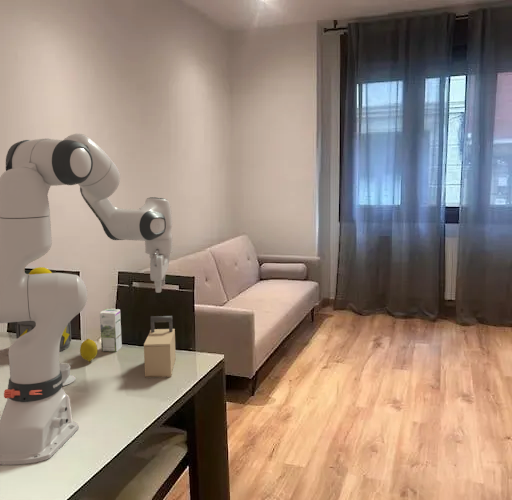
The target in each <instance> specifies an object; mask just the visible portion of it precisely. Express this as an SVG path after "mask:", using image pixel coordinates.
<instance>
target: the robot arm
mask: <svg viewBox="0 0 512 500" xmlns="http://www.w3.org/2000/svg"><path fill="white" fill-rule="evenodd" d="M120 183H121V173H120V170H119V168H118V166H117V164H116V163H115V162H114V161H113V160H112V158H111V157H110V156H109V155H108V153H107V152H106V151H105V150H104V149H103V148H102V147H101V146H100V145H98V143H97V142H95V141H94V140H93V139H92V138H90V137H89V136H87V135H86V134H82V133H73V134H70V135H68V136H67V137H64V139H54V138H52V139H51V138H37V139H23V140H21V141H18V142H16V143H14V144H12V145H11V146H10V147H9V149H8V150H7V153H6V156H5V171H4V172H2V174H1V176H0V324H6V323H7V324H9V323H16V322H21V321H35V322H36V326H35V327H34V329H32V330H31V331H30V332H28V333H26V334H24V335H22V336H21V337H19V338H18V339H17V338H16V339H15V340H14V341H13V342H12V343H11V344H10V346H9V349H8V353H7V354H8V365H9V366H8V367H9V378H8V384H7V388H5V389H4V391H3V398H4V399H6V402H5V405H4V407H3V411H2V414H1V417H0V465H2V466H3V465H7V466H8V465H27V464H33V463H38V462H43V461H46V460H49V459H50V458H51V457H53V456H54V454H55V453H56V452H58V450H59V449H60V448H61V447H62V446H64V444H65V443H66V442H67V441H68V440H69V439H70V438H71V437H72V436H73V435H74V434H75V433H76V432H77V431H78V430H79V428H80V427H79V423H78V422H75V421H73V416H72V408H71V400H70V396H69V395H68V394H67V393H66V392H65V390H64V389H63V387H64V386H63V382H62V381H63V377H62V372H61V371H60V366H59V363H60V352H59V349H60V340H61V337H62V334H63V331H64V329H65V328H66V326H67V325H68V323H69V322H70V323H71V321H72V320H73V319H74V318H75V317H76V316H77V315H79V314H80V313H81V312H82V311H83V309H84V308H85V307H86V305H87V302H88V296H89V294H88V289H87V288H88V287H87V285H86V283H85V281H84V280H83V278H81V277H80V276H79V275H78V274H72V273H67V272H66V273H65V272H63V273H62V272H52V273H45V274H30V275H29V273H26V272H25V271H26V269H25V268H26V267H27V266H28V265H29V264H30V263H33V262H35V261H37V260H39V259H40V258H42V257H44V256H45V255H47V254H48V253H49V252H50V250H51V248H52V243H53V242H52V241H53V240H52V227H51V226H52V224H51V223H52V222H51V210H50V201H49V197H48V195H49V190H50V188H51V187H52V186H56V187H57V186H65V185H67V186H74V185H78V186H79V193H80V194H81V197H82V198H83V200H84V201H85V203H86V204H87V206H88V207H89V209H90V210H91V212H93V214H94V215H95V216H96V218H97V220H98V221H99V222H100V224H101V227H102V229H103V231H104V234H105V235H106V236H107V238H109V239H110V240H112V241H142V242H144V245H145V246H144V247H145V248H144V249H145V251H144V253H145V254H147V255H149V259H150V263H149V270H150V271H149V272H150V275H149V278H150V281H152V282H153V284H154V287H155V289H154V290H155V293H156V294H157V293H161V292H163V289H162V287H164V286H165V285H166V281H165V280H166V274H167V272H168V270H169V267H170V254H172V253H173V252H174V248H173V246H174V243H173V234H172V227H173V216H172V208H171V207H172V206H171V203H170V201H169V200H168V199H167V198H164V197H155V196H154V197H147V198H145V203H144V205H142V206H141V207H139V208H138V209H134V208H133V209H131V208H129V209H128V208H120V207H117V206H115V205H114V204H113V203H112V201H111V200H110V199H109V197H111V196H112V195H113V194H114V193H115V192H116V190H117V189H118V187H119V186H120Z"/></svg>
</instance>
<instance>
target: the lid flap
mask: <svg viewBox="0 0 512 500" xmlns="http://www.w3.org/2000/svg"><path fill="white" fill-rule="evenodd" d="M149 321H150V330H149V333H148V335H147V337H146V339H145V341H144V343H143V347H144V346H170V344H171V341H172V338H173V335H174V332H175V333H176V331H175V330H176V329H175V328H173V315H163V316H162V315H160V316H159V315H156V316H154V315H151V316H150V320H149ZM155 323H168V328H157V329H156V328H155Z"/></svg>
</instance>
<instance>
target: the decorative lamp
mask: <svg viewBox="0 0 512 500" xmlns="http://www.w3.org/2000/svg"><path fill="white" fill-rule="evenodd" d="M45 273H53V272H52V271H51V270H50V269H49V268H46V267H44V266H43V267H42V266H41V267H40V266H39V267H35V268H33V269H32V270H30V272H29V273H28V274H29V275H30V274H45ZM14 323H15V334H16V335H15V338H16V339H18V338H19V337H21V336H22V335H24V334H26V333H28V332H30V331H31V330H32V329H34V327H35V326H36V322H35V321H21V322H14ZM71 325H72V324H71V321H70V322H69V323H68V325H67V326H66V328H65V329H64V331H63V334H62V337H61V340H60V349H59V353H60V352H63V351H65V350H67V349H68V348H69V347H70V346H71V342H72V331H71V329H72V328H71Z"/></svg>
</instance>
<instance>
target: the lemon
mask: <svg viewBox="0 0 512 500" xmlns="http://www.w3.org/2000/svg"><path fill="white" fill-rule="evenodd" d="M79 349H80V350H79V352H80V356H81V358H82V359H83V360H85V361H87V362H91V361H92V360H94V359H95V358H96V357H97V355H98V345H97V343H96V342H95V341H94V340H93V339H90V338H86V339H85V340H83V342H82V343H81V344H80V347H79Z"/></svg>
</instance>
